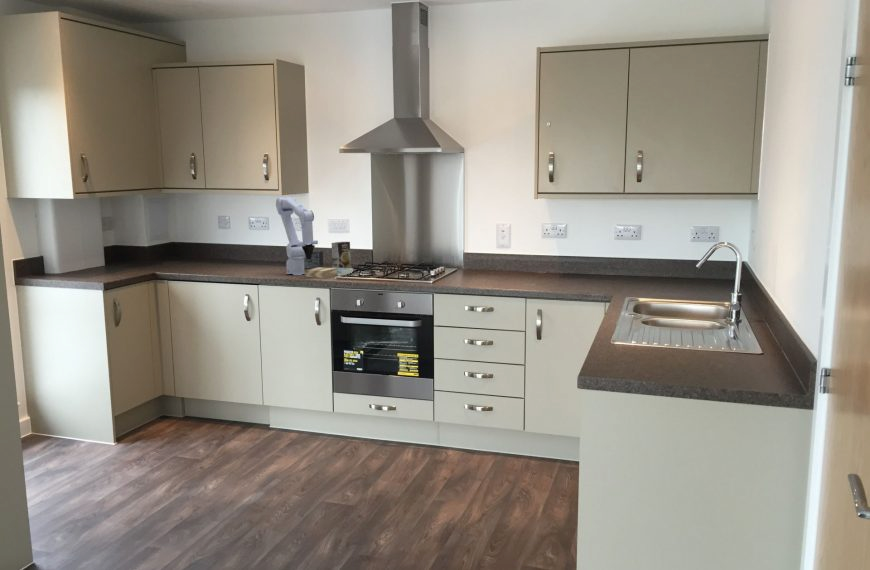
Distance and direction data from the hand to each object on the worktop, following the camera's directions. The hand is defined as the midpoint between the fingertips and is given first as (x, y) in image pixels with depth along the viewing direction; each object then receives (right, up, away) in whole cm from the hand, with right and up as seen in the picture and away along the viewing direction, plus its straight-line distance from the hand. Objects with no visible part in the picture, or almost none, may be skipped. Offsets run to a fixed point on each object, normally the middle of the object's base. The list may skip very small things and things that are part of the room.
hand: (308, 258), depth 390 cm
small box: (-3, -5, +36) cm, 37 cm away
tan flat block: (+7, -9, +3) cm, 12 cm away
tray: (+14, -8, +11) cm, 19 cm away
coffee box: (+15, -6, +25) cm, 30 cm away
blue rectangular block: (+14, -6, +11) cm, 19 cm away
